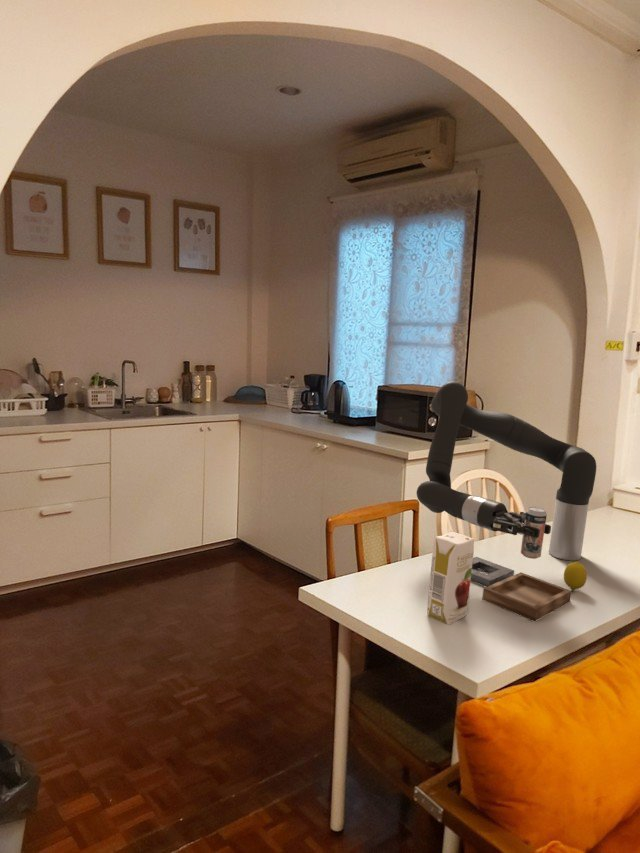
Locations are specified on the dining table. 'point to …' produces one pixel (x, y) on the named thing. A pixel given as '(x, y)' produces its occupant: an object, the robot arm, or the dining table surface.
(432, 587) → the juice carton
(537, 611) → the tray
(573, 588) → the lemon
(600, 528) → the dining table surface
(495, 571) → the socket block
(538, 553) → the beer can
